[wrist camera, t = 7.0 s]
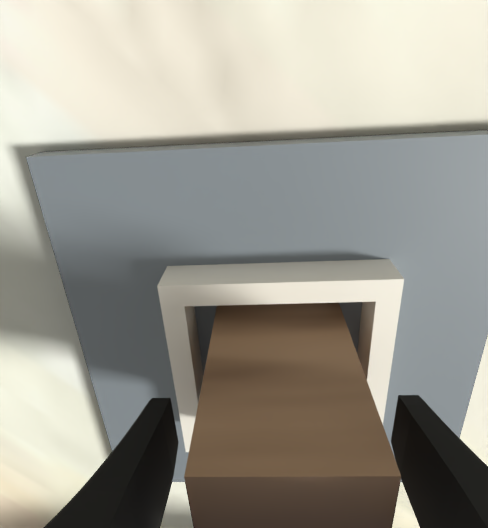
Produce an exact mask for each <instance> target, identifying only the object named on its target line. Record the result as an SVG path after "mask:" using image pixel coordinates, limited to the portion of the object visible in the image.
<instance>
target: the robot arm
mask: <svg viewBox="0 0 488 528" xmlns="http://www.w3.org/2000/svg"><path fill="white" fill-rule="evenodd" d="M178 443H179V442H178V436H177V431H176V425H175V420H174V414H173V409H172V403H171V398H152V399H150V400H149V402H148V403H147V405H146V406H145V408H144V409H143V410H142V412H141V413H140V415H139V416H138V418H137V419H136V421H135V422H134V423H133V425H132V426H131V427H130V429H129V430H128V432H127V433H126V434H125V436H124V437H123V438H122V440H121V441H120V442H119V444H118V445H117V446H116V447H115V449H114V450H113V451H112V453H111V454H110V455H109V456H108V458H107V459H106V460H105V461H104V463H103V464H102V465H101V466H100V467H99V469H98V470H97V471H96V472H95V473H94V475H93V476H92V477H91V478H90V479H89V481H88V482H87V483H86V484H85V485H84V486H83V487H82V488H81V490H80V491H79V492H78V493H77V494H76V495H75V496H74V497H73V498H72V499H71V501H70V502H69V503H68V504H67V505H66V506H65V507H64V508H63V509H62V510H61V511H60V512H59V513H58V514H57V515H56V516H55V517H54V518H53V519H52V520H51V521H50V522H49V523H48V524H47V525H46V526H45V527H44V528H160V526H161V522H162V518H163V514H164V511H165V507H166V503H167V499H168V495H169V492H170V488H171V484H172V480H173V476H174V470H175V464H176V457H177V450H178ZM391 444H392V448H393V452H394V456H395V460H396V463H397V466H398V469H399V471H400V474H401V480H402V482H403V485H404V487H405V490H406V493H407V495H408V498H409V500H410V503H411V505H412V508H413V511H414V513H415V516H416V518H417V521H418V523H419V526H420V528H488V466H487V465H486V464H485V463H484V462H483V461H481V460H480V459H479V458H478V457H477V456H476V455H475V454H474V453H473V452H472V451H471V450H470V449H469V448H468V447H467V446H466V445H465V444H464V443H463V442H462V441H461V440H460V439H459V437H458V436H457V435H456V434H455V433H454V432H453V431H452V430H451V429H450V428H449V427H448V426H447V425H446V424H445V423H444V422H443V421H442V420H441V419H440V417H439V416H438V415H437V414H436V413H435V412H434V411H433V410H432V409H431V408H430V407H429V406H428V404H427V403H426V402H425V401H424V400H423V399H422V398H421V397H420V396H419V395H398V400H397V406H396V412H395V418H394V425H393V431H392V437H391Z"/></svg>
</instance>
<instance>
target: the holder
mask: <svg viewBox="0 0 488 528" xmlns="http://www.w3.org/2000/svg"><path fill="white" fill-rule="evenodd" d="M26 159H27V162H28V166H29V169H30V173H31V176H32V180H33V183H34V186H35V190H36V193H37V197H38V200H39V203H40V207H41V210H42V214H43V217H44V220H45V224H46V227H47V231H48V234H49V238H50V241H51V244H52V248H53V251H54V255H55V258H56V261H57V265H58V268H59V272H60V275H61V278H62V282H63V285H64V289H65V292H66V295H67V299H68V302H69V306H70V309H71V313H72V316H73V319H74V323H75V326H76V330H77V333H78V336H79V340H80V343H81V347H82V350H83V353H84V357H85V360H86V364H87V367H88V371H89V374H90V377H91V381H92V384H93V388H94V391H95V394H96V398H97V401H98V405H99V408H100V411H101V415H102V418H103V422H104V425H105V428H106V432H107V435H108V439H109V442H110V446H111V449H112V451H113V450H114V449H115V447H116V446H117V445H118V444H119V442H120V441H121V440H122V438H123V437H124V436H125V434H126V433H127V432H128V430H129V429H130V427H131V426H132V425H133V423H134V422H135V421H136V419H137V418H138V416H139V415H140V413H141V412H142V410H143V409H144V408H145V406H146V405H147V403H148V402H149V400H150V399H152V398H171V403H172V409H173V414H174V420H175V425H176V431H177V436H178V442H179V443H178V450H177V457H176V464H175V470H174V476H173V480H172V482H185V479H184V475H185V470H186V465H187V459H188V454H189V449H190V444H191V439H192V433H193V428H194V423H195V418H196V412H197V407H198V402H199V397H200V392H201V386H202V381H203V376H204V371H205V365H206V360H207V355H208V350H209V345H210V339H211V334H212V329H213V324H214V318H215V313H216V308H217V306H219V305H259V304H299V303H338V302H339V305H340V307H341V310H342V313H343V316H344V318H345V321H346V324H347V327H348V330H349V332H350V335H351V338H352V341H353V344H354V346H355V349H356V352H357V355H358V357H359V360H360V363H361V366H362V369H363V371H364V374H365V377H366V380H367V382H368V385H369V388H370V391H371V394H372V396H373V399H374V402H375V405H376V408H377V410H378V413H379V416H380V419H381V421H382V424H383V427H384V430H385V433H386V435H387V438H388V441H389V444H390V446H391V449H392V452H393V448H392V444H391V437H392V431H393V425H394V418H395V412H396V406H397V400H398V395H419V396H420V397H421V398H422V399H423V400H424V401H425V402H426V403H427V404H428V406H429V407H430V408H431V409H432V410H433V411H434V412H435V413H436V414H437V415H438V416H439V417H440V419H441V420H442V421H443V422H444V423H445V424H446V425H447V426H448V427H449V428H450V429H451V430H452V431H453V432H454V433H455V434H456V435H457V436H458V437H459V438H460V434H461V430H462V427H463V423H464V419H465V416H466V412H467V408H468V405H469V401H470V397H471V394H472V390H473V386H474V383H475V379H476V375H477V372H478V368H479V364H480V361H481V357H482V353H483V350H484V346H485V342H486V339H487V335H488V130H475V131H455V132H435V133H414V134H394V135H374V136H354V137H334V138H313V139H293V140H273V141H253V142H232V143H212V144H192V145H172V146H152V147H131V148H111V149H91V150H71V151H51V152H40V153H37V154H34V155H31V156H28V157H26ZM393 455H394V452H393ZM394 458H395V456H394ZM400 482H402V480H400Z"/></svg>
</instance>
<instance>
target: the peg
mask: <svg viewBox="0 0 488 528" xmlns="http://www.w3.org/2000/svg"><path fill="white" fill-rule="evenodd" d="M184 479H185V484H186V489H187V495H188V500H189V505H190V510H191V516H192V521H193V526H194V528H392V524H393V518H394V513H395V507H396V502H397V497H398V491H399V486H400V480H401V474H400V471H399V469H398V466H397V463H396V460H395V458H394V455H393V452H392V449H391V446H390V444H389V441H388V438H387V435H386V433H385V430H384V427H383V424H382V421H381V419H380V416H379V413H378V410H377V408H376V405H375V402H374V399H373V396H372V394H371V391H370V388H369V385H368V382H367V380H366V377H365V374H364V371H363V369H362V366H361V363H360V360H359V357H358V355H357V352H356V349H355V346H354V344H353V341H352V338H351V335H350V332H349V330H348V327H347V324H346V321H345V318H344V316H343V313H342V310H341V307H340V305H339V302H338V303H299V304H259V305H219V306H217V308H216V313H215V318H214V324H213V329H212V334H211V339H210V345H209V350H208V355H207V360H206V365H205V371H204V376H203V381H202V386H201V392H200V397H199V402H198V407H197V412H196V418H195V423H194V428H193V433H192V439H191V444H190V449H189V454H188V459H187V465H186V470H185V475H184Z"/></svg>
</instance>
